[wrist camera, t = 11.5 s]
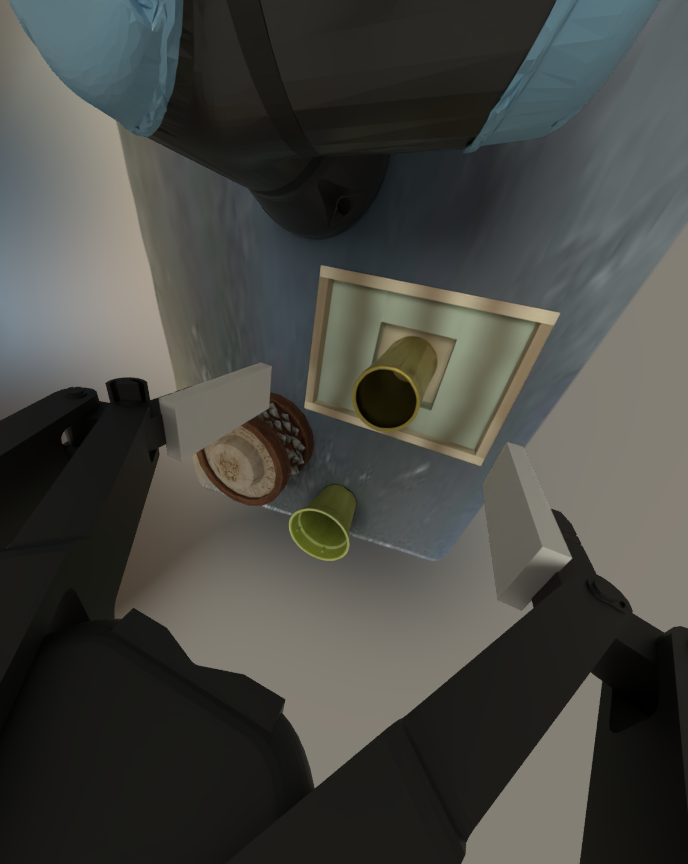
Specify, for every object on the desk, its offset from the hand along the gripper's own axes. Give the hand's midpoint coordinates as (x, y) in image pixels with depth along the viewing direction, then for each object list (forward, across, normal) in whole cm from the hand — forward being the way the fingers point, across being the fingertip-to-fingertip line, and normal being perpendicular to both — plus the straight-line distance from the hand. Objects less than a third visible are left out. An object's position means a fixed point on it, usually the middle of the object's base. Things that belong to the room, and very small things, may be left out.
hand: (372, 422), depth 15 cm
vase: (+20, 0, -1) cm, 20 cm away
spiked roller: (+21, -18, -18) cm, 34 cm away
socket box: (+21, 0, -1) cm, 21 cm away
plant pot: (+21, -5, -26) cm, 34 cm away
